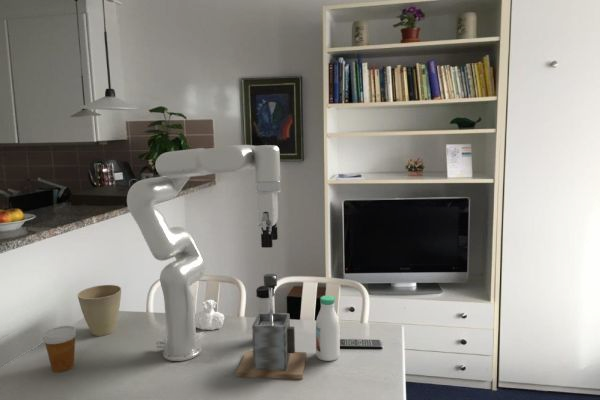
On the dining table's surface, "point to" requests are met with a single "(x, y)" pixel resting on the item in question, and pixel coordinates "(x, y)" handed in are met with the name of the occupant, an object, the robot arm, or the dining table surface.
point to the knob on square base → (271, 299)
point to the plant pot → (100, 308)
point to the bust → (209, 317)
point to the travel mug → (264, 299)
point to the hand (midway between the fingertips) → (269, 243)
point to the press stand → (272, 351)
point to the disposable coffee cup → (60, 347)
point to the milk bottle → (327, 331)
